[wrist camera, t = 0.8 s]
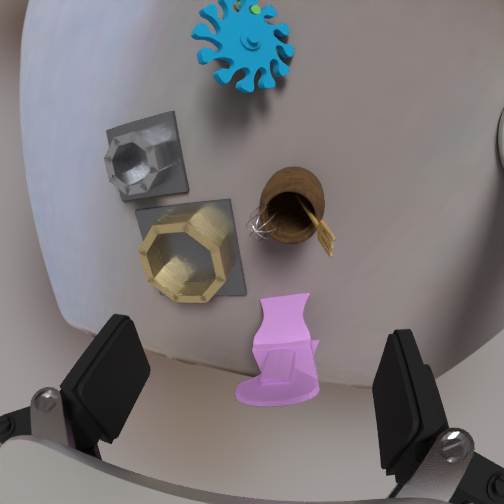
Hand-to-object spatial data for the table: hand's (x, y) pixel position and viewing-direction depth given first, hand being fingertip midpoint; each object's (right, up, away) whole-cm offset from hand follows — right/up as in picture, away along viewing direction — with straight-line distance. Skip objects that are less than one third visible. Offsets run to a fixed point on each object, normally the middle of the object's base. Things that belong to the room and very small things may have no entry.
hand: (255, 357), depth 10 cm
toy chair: (+5, -5, +28) cm, 29 cm away
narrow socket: (-12, +14, +21) cm, 28 cm away
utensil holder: (+4, +10, +20) cm, 23 cm away
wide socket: (-7, +4, +26) cm, 27 cm away
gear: (0, +24, +14) cm, 28 cm away
